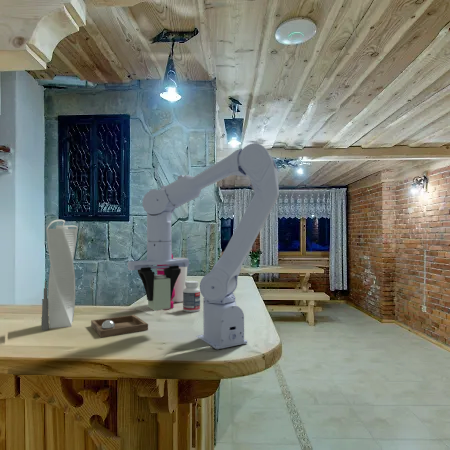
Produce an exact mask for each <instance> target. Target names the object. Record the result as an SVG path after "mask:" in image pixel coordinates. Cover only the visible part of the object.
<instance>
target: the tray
mask: <svg viewBox="0 0 450 450" xmlns="http://www.w3.org/2000/svg"><path fill="white" fill-rule="evenodd" d="M106 320H111V321H113V322H114V324H115V328H113V329H106V330H103V329H102V324H103V322H105V321H106ZM90 327H91V328H92V329H93V330H94V331H95V332H96V334H97V335H98V336H99V337H100V338H106V337H112V336H113V337H114V336H119V335H125V334H132V333H139V332H144V331H148V330H149V323H147V322H146V321H144V320H143V319H141V318H139V317H138V316H136V314H131V315H130V314H129V315H122V316H114V317H108V318H107V317H106V318H100V319H92V320H91V321H90Z"/></svg>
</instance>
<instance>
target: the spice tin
mask: <svg viewBox="0 0 450 450" xmlns="http://www.w3.org/2000/svg"><path fill="white" fill-rule="evenodd" d="M147 308H149V309H151V310H153V311H159V310H162V309H167V310H171V309H170V278H167V277H166V275H157V274H154V281H153V301H149V300H147Z"/></svg>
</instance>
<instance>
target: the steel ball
mask: <svg viewBox="0 0 450 450" xmlns="http://www.w3.org/2000/svg"><path fill="white" fill-rule="evenodd" d="M113 328H115V324H114V322H113V321H111V320H106V321H105V322H103V324H102V329H103V330H106V329H113Z"/></svg>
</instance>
